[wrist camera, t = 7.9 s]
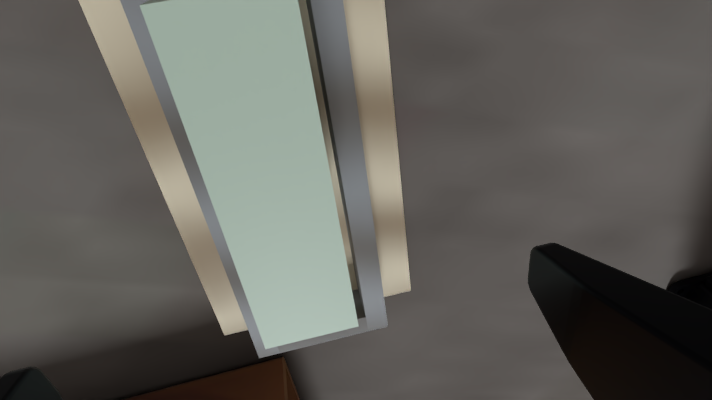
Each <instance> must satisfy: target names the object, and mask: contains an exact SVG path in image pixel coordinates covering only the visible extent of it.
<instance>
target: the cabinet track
mask: <svg viewBox="0 0 712 400" xmlns="http://www.w3.org/2000/svg"><path fill="white" fill-rule="evenodd" d="M147 1H149V0H79V3H80V5H81V7H82V10H83V12H84V14H85V16H86V19H87V21H88V23H89V26H90V28H91V30H92V32H93V35H94V37H95V39H96V42H97V44H98V46H99V49H100V51H101V53H102V55H103V58H104V60H105V62H106V65H107V67H108V69H109V72H110V74H111V76H112V78H113V81H114V83H115V85H116V88H117V90H118V92H119V94H120V97H121V99H122V101H123V104H124V106H125V108H126V111H127V113H128V115H129V117H130V120H131V122H132V124H133V127H134V129H135V131H136V134H137V136H138V138H139V140H140V143H141V145H142V147H143V150H144V152H145V154H146V156H147V159H148V161H149V163H150V166H151V168H152V170H153V173H154V175H155V177H156V179H157V182H158V184H159V186H160V189H161V191H162V193H163V195H164V198H165V200H166V202H167V205H168V207H169V209H170V212H171V214H172V216H173V218H174V221H175V223H176V225H177V228H178V230H179V232H180V235H181V237H182V239H183V241H184V244H185V246H186V248H187V251H188V253H189V255H190V257H191V260H192V262H193V264H194V267H195V269H196V271H197V274H198V276H199V278H200V280H201V283H202V285H203V287H204V290H205V292H206V294H207V297H208V299H209V301H210V303H211V306H212V308H213V310H214V313H215V315H216V317H217V319H218V322H219V324H220V326H221V329H222V331H223V333H224V336H225V335H229V334H233V333H237V332H242V331H246V330H248V331H249V333H250V336H251V338H252V341H253V344H254V346H255V349H256V351H257V354H258V356H259V358H263V357H267V356H271V355H275V354H279V353H283V352H287V351H291V350H295V349H299V348H303V347H307V346H311V345H315V344H319V343H323V342H327V341H331V340H335V339H339V338H343V337H347V336H351V335H355V334H359V333H363V332H367V331H372V330H376V329H380V328H384V327H388V323H387V316H386V309H385V302H384V297H386V296H390V295H395V294H399V293H403V292H407V291H411V286H410V275H409V264H408V253H407V242H406V232H405V221H404V210H403V199H402V188H401V177H400V166H399V155H398V144H397V133H396V122H395V111H394V100H393V89H392V78H391V67H390V56H389V45H388V34H387V23H386V12H385V1H384V0H298V3H299V8H300V14H301V19H302V24H303V30H304V35H305V41H306V46H307V51H308V57H309V62H310V67H311V73H312V78H313V84H314V89H315V94H316V100H317V105H318V110H319V116H320V121H321V127H322V132H323V137H324V143H325V148H326V153H327V159H328V164H329V170H330V175H331V180H332V186H333V191H334V196H335V202H336V207H337V213H338V218H339V223H340V229H341V234H342V239H343V245H344V250H345V256H346V261H347V266H348V272H349V277H350V282H351V288H352V293H353V298H354V304H355V309H356V315H357V320H358V325H359V326H358V327H354V328H350V329H346V330H342V331H338V332H334V333H330V334H326V335H322V336H318V337H314V338H309V339H305V340H301V341H297V342H293V343H289V344H285V345H281V346H277V347H273V348H269V349H265V347H264V344H263V341H262V338H261V336H260V333H259V330H258V327H257V325H256V322H255V319H254V317H253V314H252V311H251V308H250V306H249V303H248V300H247V297H246V295H245V292H244V289H243V287H242V284H241V281H240V278H239V276H238V273H237V270H236V267H235V265H234V262H233V259H232V257H231V254H230V251H229V248H228V246H227V243H226V240H225V237H224V235H223V232H222V229H221V227H220V224H219V221H218V218H217V216H216V213H215V210H214V207H213V205H212V202H211V199H210V196H209V194H208V191H207V188H206V186H205V183H204V180H203V177H202V175H201V172H200V169H199V166H198V164H197V161H196V158H195V156H194V153H193V150H192V147H191V145H190V142H189V139H188V136H187V134H186V131H185V128H184V126H183V123H182V120H181V117H180V115H179V112H178V109H177V106H176V104H175V101H174V98H173V96H172V93H171V90H170V87H169V85H168V82H167V79H166V76H165V74H164V71H163V68H162V66H161V63H160V60H159V57H158V55H157V52H156V49H155V46H154V44H153V41H152V38H151V35H150V33H149V30H148V27H147V25H146V22H145V19H144V16H143V14H142V11H141V8H140V5H141V4H143V3H145V2H147Z"/></svg>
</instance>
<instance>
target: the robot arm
mask: <svg viewBox="0 0 712 400" xmlns="http://www.w3.org/2000/svg"><path fill="white" fill-rule="evenodd" d="M528 284H529V288H530V291H531V293H532V295H533V296H534V298H535V300H536V302H537V304H538V306H539V308H540V310H541V311H542V313H543V315H544V317H545V319H546V321H547V323H548V325H549V326H550V328H551V330H552V332H553V334H554V336H555V338H556V340H557V342H558V343H559V345H560V347H561V349H562V351H563V353H564V354H565V356H566V358H567V360H568V361H569V363H570V365H571V366H572V368H573V369H574V371H575V372H576V374H577V375H578V377H579V378H580V380H581V381H582V383H583V384H584V386H585V387H586V389H587V390H588V392H589V393H590V395H591V396H592V398H593V399H594V400H712V273H710V274H706V275H702V276H698V277H694V278H690V279H686V280H682V281H678V282H676V283H674V284H673V285H672V286H671V287H670V289H669V291H667V290H665V289H662V288H660V287H658V286H655V285H653V284H651V283H648V282H646V281H644V280H641V279H639V278H637V277H634V276H632V275H630V274H627V273H625V272H623V271H620V270H618V269H615V268H613V267H611V266H608V265H606V264H604V263H601V262H599V261H597V260H594V259H592V258H590V257H587V256H585V255H583V254H580V253H578V252H576V251H573V250H571V249H569V248H566V247H564V246H562V245H559V244H556V243H548V244H544V245H539V246H536V247H534V248H533V249H532V250H531V254H530V263H529V272H528ZM0 400H62V398H61V395H60V393H59V392H58V391H57V389H56V388H55V387H54V386H53V384H52V383H51V382H50V381H49V380H48V378H47V377H46V376H45V375H44V373H43V372H42V371H41V370H40V369H38V368H36V367H28V368H23V369H19V370H15V371H11V372H9V373H7V374H5V375H4V376H2V377H1V378H0Z"/></svg>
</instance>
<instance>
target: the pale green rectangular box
mask: <svg viewBox="0 0 712 400" xmlns="http://www.w3.org/2000/svg"><path fill="white" fill-rule="evenodd" d="M140 8H141V11H142V14H143V16H144V19H145V22H146V25H147V27H148V30H149V33H150V35H151V38H152V41H153V44H154V46H155V49H156V52H157V55H158V57H159V60H160V63H161V66H162V68H163V71H164V74H165V76H166V79H167V82H168V85H169V87H170V90H171V93H172V96H173V98H174V101H175V104H176V106H177V109H178V112H179V115H180V117H181V120H182V123H183V126H184V128H185V131H186V134H187V136H188V139H189V142H190V145H191V147H192V150H193V153H194V156H195V158H196V161H197V164H198V166H199V169H200V172H201V175H202V177H203V180H204V183H205V186H206V188H207V191H208V194H209V196H210V199H211V202H212V205H213V207H214V210H215V213H216V216H217V218H218V221H219V224H220V227H221V229H222V232H223V235H224V237H225V240H226V243H227V246H228V248H229V251H230V254H231V257H232V259H233V262H234V265H235V267H236V270H237V273H238V276H239V278H240V281H241V284H242V287H243V289H244V292H245V295H246V297H247V300H248V303H249V306H250V308H251V311H252V314H253V317H254V319H255V322H256V325H257V327H258V330H259V333H260V336H261V338H262V341H263V344H264V347H265V349H269V348H273V347H277V346H281V345H285V344H289V343H293V342H297V341H301V340H305V339H309V338H314V337H318V336H322V335H326V334H330V333H334V332H338V331H342V330H346V329H350V328H354V327H358V326H359V325H358V320H357V315H356V309H355V304H354V298H353V293H352V288H351V282H350V277H349V272H348V266H347V261H346V256H345V250H344V245H343V239H342V234H341V229H340V223H339V218H338V213H337V207H336V202H335V196H334V191H333V186H332V180H331V175H330V170H329V164H328V159H327V153H326V148H325V143H324V137H323V132H322V127H321V121H320V116H319V110H318V105H317V100H316V94H315V89H314V84H313V78H312V73H311V67H310V62H309V57H308V51H307V46H306V41H305V35H304V30H303V24H302V19H301V14H300V8H299V3H298V0H149V1H147V2H145V3H143V4H141V5H140Z"/></svg>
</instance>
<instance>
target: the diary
mask: <svg viewBox="0 0 712 400" xmlns="http://www.w3.org/2000/svg"><path fill="white" fill-rule="evenodd" d="M122 400H300V398H299V396H298V393H297V390H296V388H295V385H294V383H293V380H292V377H291V375H290V372H289V369H288V367H287V364H286V362H285V359H284V356H283V357H280V358H276V359H272V360H268V361H265V362H261V363H257V364H253V365H250V366H246V367H242V368H238V369H235V370H231V371H227V372H223V373H220V374H216V375H212V376H208V377H205V378H201V379H197V380H193V381H190V382H186V383H182V384H178V385H175V386H171V387H167V388H163V389H160V390H156V391H152V392H148V393H145V394H141V395H137V396H133V397H130V398H126V399H122Z"/></svg>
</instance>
